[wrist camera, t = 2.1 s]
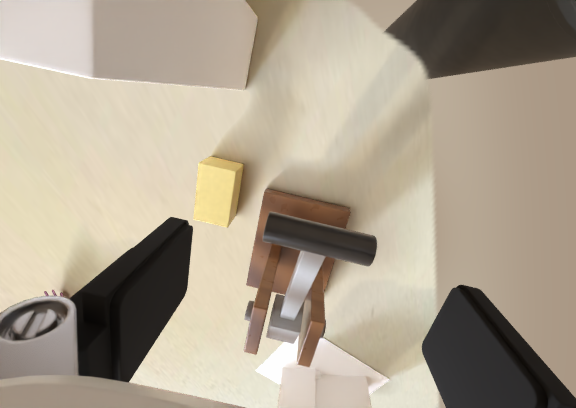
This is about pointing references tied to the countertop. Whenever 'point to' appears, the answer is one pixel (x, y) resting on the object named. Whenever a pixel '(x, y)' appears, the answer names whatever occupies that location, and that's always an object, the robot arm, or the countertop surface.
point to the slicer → (289, 271)
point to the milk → (133, 39)
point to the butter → (217, 191)
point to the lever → (309, 264)
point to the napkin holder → (321, 378)
